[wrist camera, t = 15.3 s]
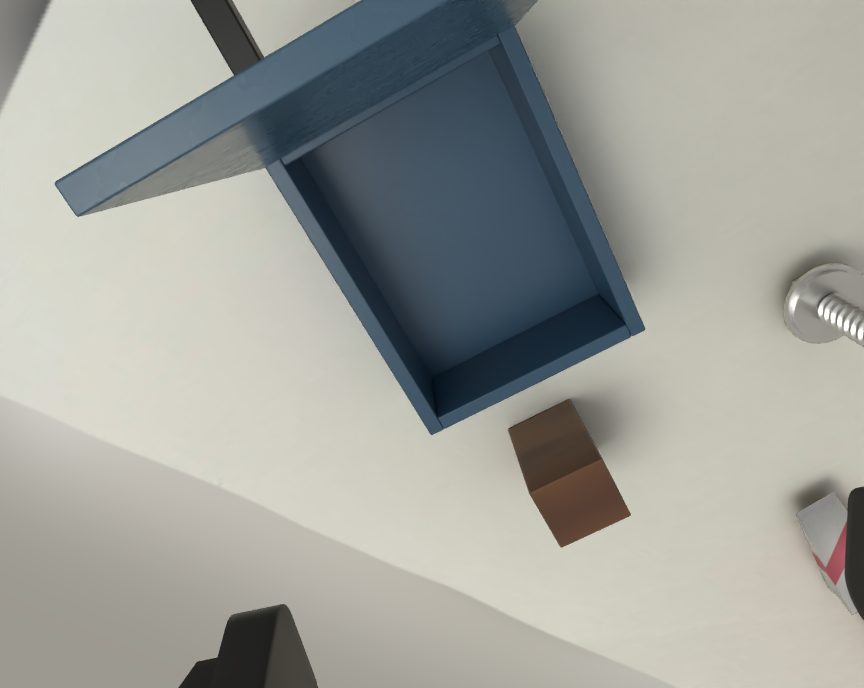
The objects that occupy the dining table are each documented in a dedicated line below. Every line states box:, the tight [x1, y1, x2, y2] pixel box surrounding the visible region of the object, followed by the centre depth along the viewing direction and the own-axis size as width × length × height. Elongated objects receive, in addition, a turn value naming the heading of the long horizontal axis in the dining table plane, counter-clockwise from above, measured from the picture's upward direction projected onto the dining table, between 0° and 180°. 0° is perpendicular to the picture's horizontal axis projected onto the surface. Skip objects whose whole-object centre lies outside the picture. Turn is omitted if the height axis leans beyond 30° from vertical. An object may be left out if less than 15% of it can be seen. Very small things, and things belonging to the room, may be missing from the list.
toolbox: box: [265, 26, 645, 435], centre depth 36 cm, size 17×13×6 cm
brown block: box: [508, 399, 631, 547], centre depth 42 cm, size 4×4×7 cm
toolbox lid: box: [55, 0, 538, 217], centre depth 21 cm, size 18×13×5 cm
